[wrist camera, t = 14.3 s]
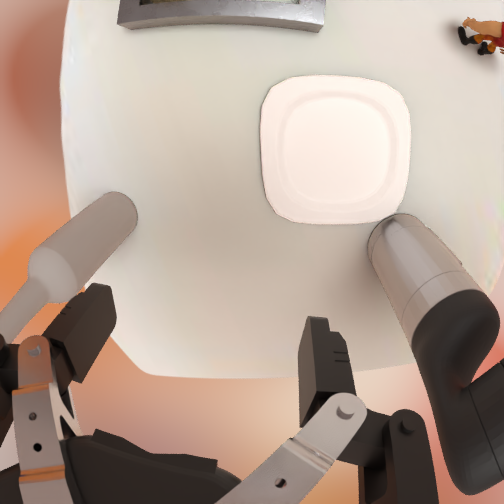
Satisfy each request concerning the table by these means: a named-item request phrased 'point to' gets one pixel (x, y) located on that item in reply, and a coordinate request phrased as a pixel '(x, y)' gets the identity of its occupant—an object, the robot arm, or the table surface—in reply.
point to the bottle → (69, 259)
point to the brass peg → (162, 0)
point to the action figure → (484, 35)
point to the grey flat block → (222, 13)
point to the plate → (334, 149)
